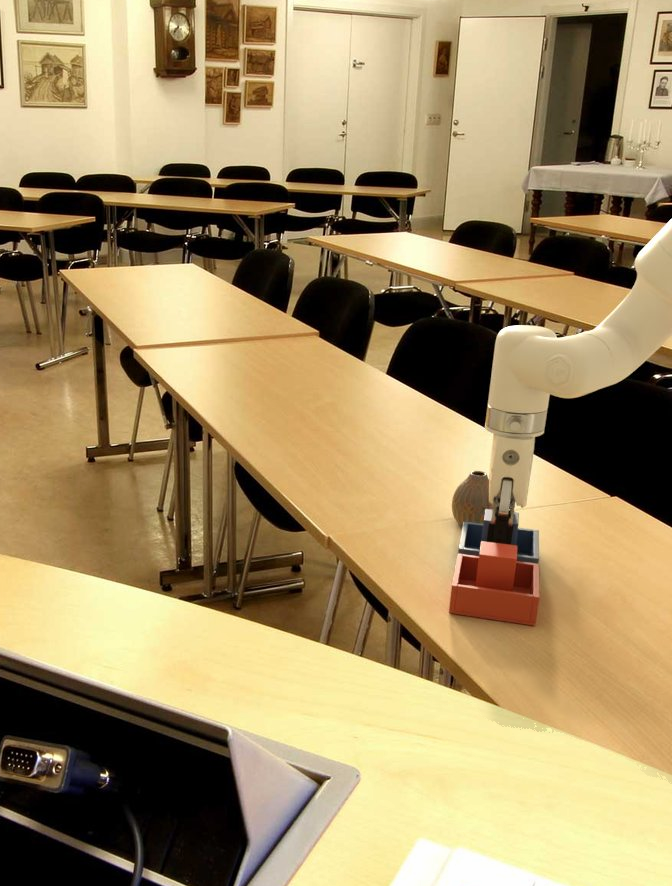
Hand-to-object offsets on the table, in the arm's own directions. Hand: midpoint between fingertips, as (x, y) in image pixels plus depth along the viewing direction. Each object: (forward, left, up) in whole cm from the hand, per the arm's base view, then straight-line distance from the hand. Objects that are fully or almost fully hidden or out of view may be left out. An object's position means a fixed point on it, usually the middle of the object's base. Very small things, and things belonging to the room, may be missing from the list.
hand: (498, 541), depth 130 cm
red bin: (0, +12, -4) cm, 13 cm away
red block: (0, +12, -3) cm, 12 cm away
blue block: (0, 0, -3) cm, 3 cm away
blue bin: (0, 0, -4) cm, 4 cm away
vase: (+4, -14, -4) cm, 15 cm away
